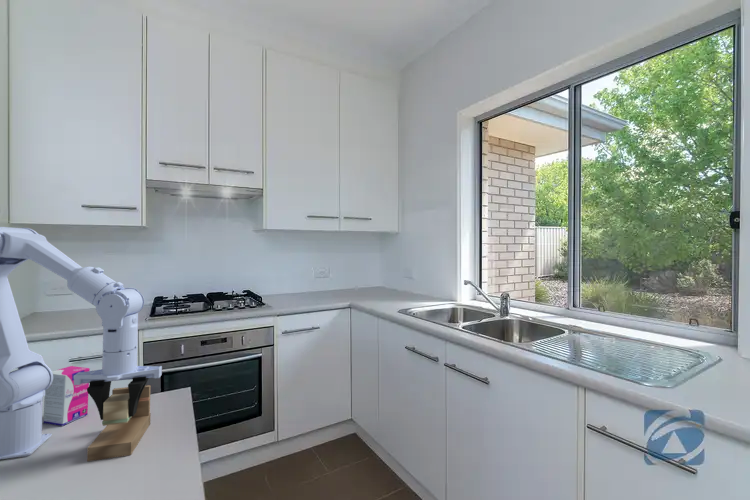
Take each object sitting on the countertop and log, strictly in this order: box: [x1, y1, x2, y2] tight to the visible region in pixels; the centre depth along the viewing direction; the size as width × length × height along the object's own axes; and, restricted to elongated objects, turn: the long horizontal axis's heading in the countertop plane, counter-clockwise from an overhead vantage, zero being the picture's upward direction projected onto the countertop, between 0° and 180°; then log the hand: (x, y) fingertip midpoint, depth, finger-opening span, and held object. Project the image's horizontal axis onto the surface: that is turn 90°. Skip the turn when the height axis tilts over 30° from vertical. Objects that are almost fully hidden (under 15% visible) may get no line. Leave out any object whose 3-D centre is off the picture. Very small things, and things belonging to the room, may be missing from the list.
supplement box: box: [42, 365, 91, 427], centre depth 82 cm, size 6×6×12 cm
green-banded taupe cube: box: [101, 393, 131, 427], centre depth 71 cm, size 4×4×4 cm
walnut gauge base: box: [86, 384, 152, 462], centre depth 73 cm, size 7×13×9 cm, turn 19°
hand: (118, 416), depth 71 cm, fingers closed on green-banded taupe cube, 4 cm apart
